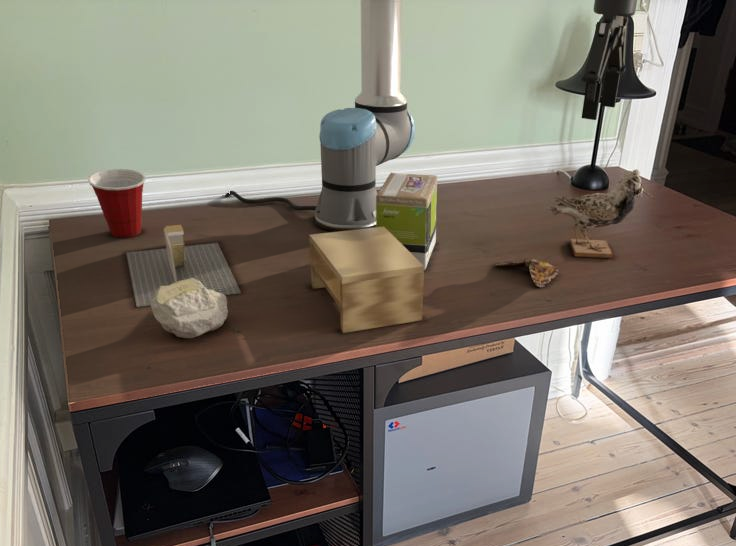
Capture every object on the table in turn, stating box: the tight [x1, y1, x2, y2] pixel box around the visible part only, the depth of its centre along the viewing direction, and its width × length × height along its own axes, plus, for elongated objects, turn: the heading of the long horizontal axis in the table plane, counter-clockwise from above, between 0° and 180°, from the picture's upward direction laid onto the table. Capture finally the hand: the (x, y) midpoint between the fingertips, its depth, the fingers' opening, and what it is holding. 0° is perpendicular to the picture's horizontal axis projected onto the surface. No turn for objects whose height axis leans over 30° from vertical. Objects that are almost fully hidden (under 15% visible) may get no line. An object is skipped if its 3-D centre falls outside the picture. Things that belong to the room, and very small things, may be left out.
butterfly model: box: [496, 258, 560, 288], centre depth 144 cm, size 9×12×3 cm
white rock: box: [149, 278, 229, 339], centre depth 117 cm, size 12×8×10 cm
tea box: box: [376, 172, 438, 271], centre depth 146 cm, size 15×10×15 cm
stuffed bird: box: [548, 169, 653, 259], centre depth 151 cm, size 10×20×17 cm, turn 107°
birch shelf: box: [308, 227, 425, 334], centre depth 127 cm, size 14×19×10 cm
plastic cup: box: [87, 168, 147, 238], centre depth 150 cm, size 11×11×12 cm
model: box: [163, 224, 187, 281], centre depth 136 cm, size 3×11×8 cm, turn 23°
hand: (598, 112), depth 143 cm, fingers open, 13 cm apart
